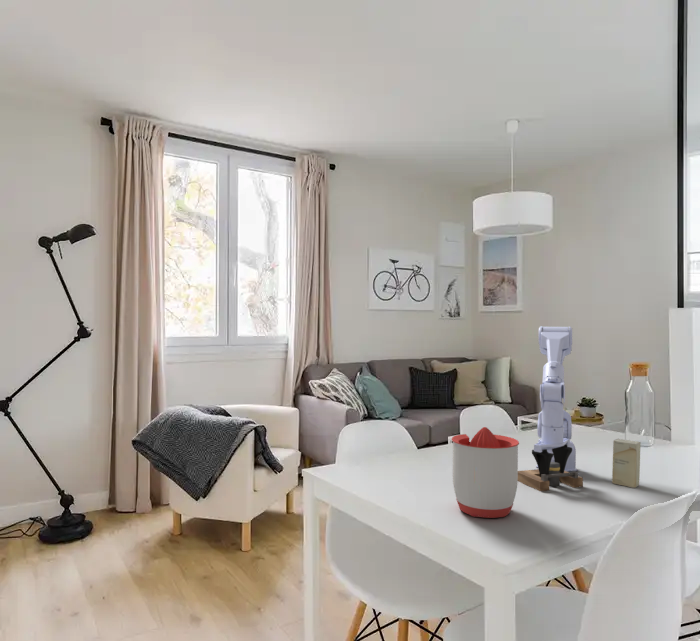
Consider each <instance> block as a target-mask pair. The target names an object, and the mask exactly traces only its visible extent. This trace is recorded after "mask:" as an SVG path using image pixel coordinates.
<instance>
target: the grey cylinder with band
mask: <svg viewBox="0 0 700 641" xmlns="http://www.w3.org/2000/svg"><path fill="white" fill-rule="evenodd" d="M549 474H560V464H559V463H556V462H551V463H550V469H549ZM548 481H549V488H550V487H551V488H558V487H560V483H561V482H560V477H555V478H548Z"/></svg>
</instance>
